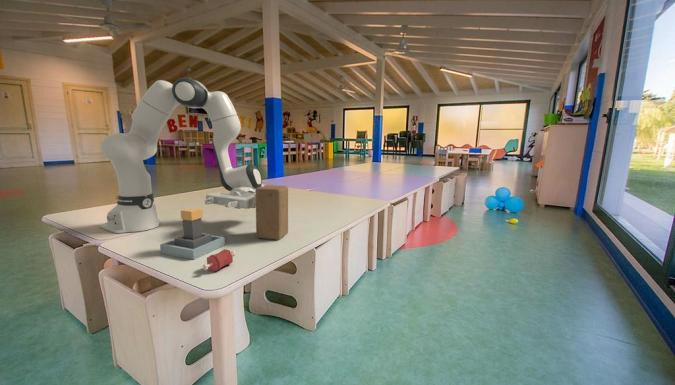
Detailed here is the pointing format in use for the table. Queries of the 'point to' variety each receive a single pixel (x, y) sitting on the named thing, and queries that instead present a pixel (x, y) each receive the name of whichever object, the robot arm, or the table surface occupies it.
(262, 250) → the table surface
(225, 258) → the meat
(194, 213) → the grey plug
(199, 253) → the box
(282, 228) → the wooden block
